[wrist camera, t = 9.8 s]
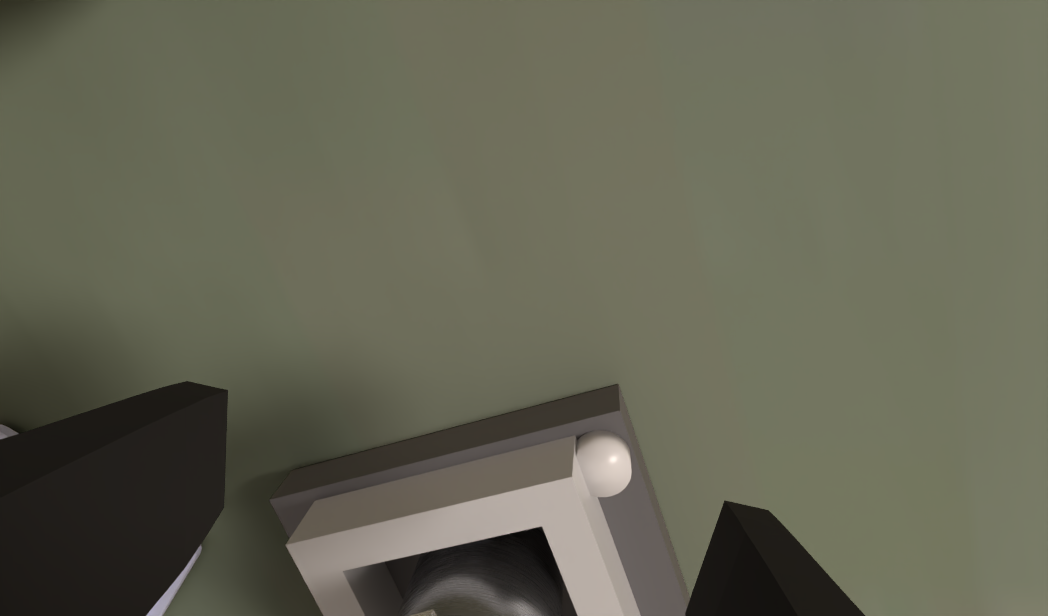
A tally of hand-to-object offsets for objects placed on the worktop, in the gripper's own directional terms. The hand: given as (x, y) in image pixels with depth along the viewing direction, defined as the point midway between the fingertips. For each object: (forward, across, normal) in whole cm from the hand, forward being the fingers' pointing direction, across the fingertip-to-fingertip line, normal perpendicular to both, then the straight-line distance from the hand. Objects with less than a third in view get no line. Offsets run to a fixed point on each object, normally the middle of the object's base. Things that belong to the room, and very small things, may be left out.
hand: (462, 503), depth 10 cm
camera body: (+10, -1, +9) cm, 13 cm away
